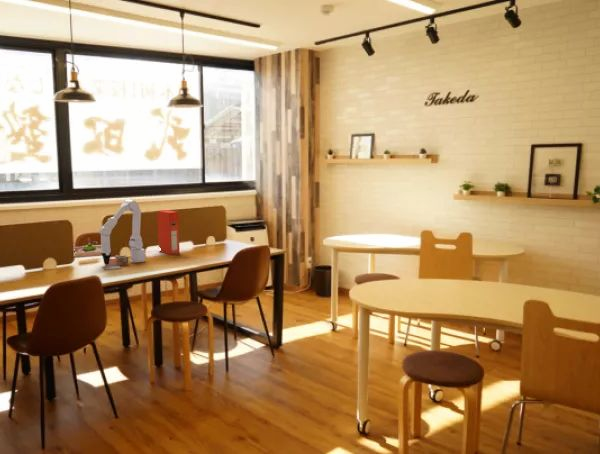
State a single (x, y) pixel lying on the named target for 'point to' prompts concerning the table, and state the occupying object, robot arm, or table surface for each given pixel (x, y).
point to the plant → (89, 248)
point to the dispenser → (122, 260)
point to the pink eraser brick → (112, 262)
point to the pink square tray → (87, 252)
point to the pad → (111, 267)
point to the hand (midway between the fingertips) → (106, 263)
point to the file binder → (168, 231)
